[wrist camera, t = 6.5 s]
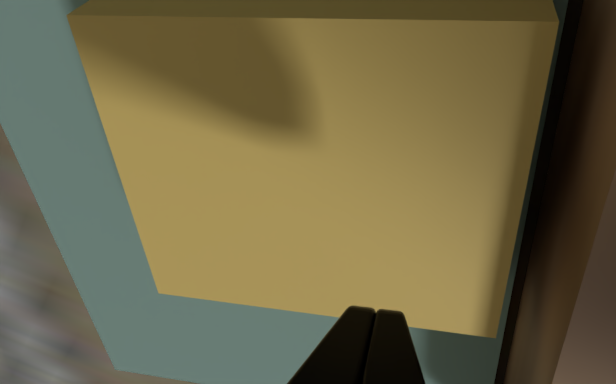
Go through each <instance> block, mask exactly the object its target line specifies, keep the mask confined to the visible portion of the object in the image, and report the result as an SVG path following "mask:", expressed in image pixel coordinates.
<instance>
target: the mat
mask: <svg viewBox="0 0 616 384" xmlns="http://www.w3.org/2000/svg"><path fill="white" fill-rule="evenodd" d="M88 1H89V0H0V123H1V125H2V128H3V130H4V132H5V134H6V136H7V138H8V140H9V143H10V145H11V147H12V149H13V151H14V153H15V155H16V158H17V160H18V162H19V164H20V166H21V168H22V170H23V173H24V175H25V177H26V179H27V181H28V183H29V186H30V188H31V190H32V192H33V194H34V196H35V198H36V201H37V203H38V205H39V207H40V209H41V211H42V213H43V216H44V218H45V220H46V222H47V224H48V226H49V228H50V231H51V233H52V235H53V237H54V239H55V241H56V243H57V246H58V248H59V250H60V252H61V254H62V256H63V259H64V261H65V263H66V265H67V267H68V269H69V271H70V274H71V276H72V278H73V280H74V282H75V284H76V286H77V289H78V291H79V293H80V295H81V297H82V299H83V301H84V304H85V306H86V308H87V310H88V312H89V314H90V316H91V319H92V321H93V323H94V325H95V327H96V329H97V332H98V334H99V336H100V338H101V340H102V342H103V344H104V347H105V349H106V351H107V353H108V355H109V357H110V359H111V362H112V364H113V366H114V368H115V370H121V371H127V372H133V373H139V374H145V375H151V376H157V377H164V378H170V379H176V380H182V381H188V382H194V383H201V384H287V383H288V382H289V380H290V379H291V378H292V377H293V375H294V374H295V373H296V372H297V370H298V369H299V368H300V367H301V365H302V364H303V363H304V361H305V360H306V359H307V358H308V356H309V355H310V354H311V353H312V351H313V350H314V349H315V348H316V346H317V345H318V344H319V343H320V341H321V340H322V339H323V338H324V336H325V335H326V334H327V333H328V331H329V330H330V329H331V328H332V326H333V325H334V324H335V323H336V321H337V320H338V319H339V317H332V316H324V315H317V314H309V313H302V312H294V311H287V310H279V309H272V308H264V307H257V306H249V305H242V304H234V303H227V302H219V301H212V300H204V299H197V298H189V297H182V296H174V295H167V294H159V293H158V290H157V287H156V284H155V281H154V278H153V275H152V272H151V269H150V266H149V263H148V260H147V257H146V254H145V251H144V248H143V245H142V242H141V239H140V236H139V233H138V230H137V227H136V224H135V221H134V218H133V215H132V212H131V209H130V206H129V203H128V200H127V197H126V194H125V191H124V188H123V185H122V182H121V179H120V176H119V173H118V170H117V167H116V164H115V161H114V158H113V155H112V152H111V149H110V146H109V143H108V140H107V137H106V134H105V131H104V128H103V125H102V122H101V119H100V116H99V113H98V110H97V107H96V103H95V100H94V97H93V94H92V91H91V88H90V85H89V82H88V79H87V76H86V73H85V70H84V67H83V64H82V61H81V58H80V55H79V52H78V49H77V46H76V43H75V40H74V37H73V34H72V31H71V28H70V25H69V22H68V19H67V16H66V15H67V14H69V13H70V12H72V11H73V10H75V9H77V8H78V7H80V6H81V5H83V4H84V3H86V2H88ZM553 3H554V7H555V10H556V13H557V16H558V19H559V26H558V31H557V36H556V41H555V46H554V51H553V56H552V61H551V66H550V71H549V76H548V81H547V86H546V91H545V96H544V101H543V106H542V111H541V116H540V121H539V126H538V131H537V136H536V141H535V146H534V151H533V156H532V161H531V166H530V171H529V176H528V181H527V186H526V191H525V196H524V201H523V206H522V211H521V216H520V221H519V226H518V231H517V236H516V241H515V246H514V250H513V255H512V260H511V265H510V270H509V275H508V280H507V285H506V290H505V295H504V300H503V305H502V310H501V315H500V320H499V325H498V330H497V335H496V338H490V337H482V336H475V335H467V334H460V333H452V332H444V331H437V330H429V329H422V328H414V327H408V328H409V331H410V334H411V337H412V341H413V344H414V347H415V351H416V354H417V357H418V360H419V364H420V367H421V370H422V373H423V377H424V380H425V383H426V384H494V381H495V376H496V371H497V366H498V361H499V356H500V350H501V345H502V340H503V335H504V330H505V325H506V319H507V314H508V309H509V304H510V299H511V294H512V288H513V283H514V278H515V273H516V268H517V263H518V257H519V252H520V247H521V242H522V237H523V232H524V226H525V221H526V216H527V211H528V206H529V201H530V195H531V190H532V185H533V180H534V175H535V170H536V164H537V159H538V154H539V149H540V144H541V139H542V134H543V128H544V123H545V118H546V113H547V108H548V103H549V97H550V92H551V87H552V82H553V77H554V72H555V66H556V61H557V56H558V51H559V46H560V41H561V35H562V30H563V25H564V20H565V15H566V10H567V4H568V0H553Z"/></svg>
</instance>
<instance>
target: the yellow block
mask: <svg viewBox="0 0 616 384" xmlns="http://www.w3.org/2000/svg"><path fill="white" fill-rule="evenodd" d="M66 16H67V19H68V22H69V25H70V28H71V31H72V34H73V37H74V40H75V43H76V46H77V49H78V52H79V55H80V58H81V61H82V64H83V67H84V70H85V73H86V76H87V79H88V82H89V85H90V88H91V91H92V94H93V97H94V100H95V103H96V107H97V110H98V113H99V116H100V119H101V122H102V125H103V128H104V131H105V134H106V137H107V140H108V143H109V146H110V149H111V152H112V155H113V158H114V161H115V164H116V167H117V170H118V173H119V176H120V179H121V182H122V185H123V188H124V191H125V194H126V197H127V200H128V203H129V206H130V209H131V212H132V215H133V218H134V221H135V224H136V227H137V230H138V233H139V236H140V239H141V242H142V245H143V248H144V251H145V254H146V257H147V260H148V263H149V266H150V269H151V272H152V275H153V278H154V281H155V284H156V287H157V290H158V293H159V294H167V295H174V296H182V297H189V298H197V299H204V300H212V301H219V302H227V303H234V304H242V305H249V306H257V307H264V308H272V309H279V310H287V311H294V312H302V313H309V314H317V315H324V316H332V317H339V318H340V316H341V315H342V314H343V312H344V311H345V310H346V309H347V308H348V307H349V306H353V305H354V306H363V307H371V308H373V309H375V311H376V312H377V310H379V309H388V310H396V311H401V312H403V314H404V315H405V318H406V321H407V324H408V327H414V328H422V329H429V330H437V331H444V332H452V333H460V334H467V335H475V336H482V337H490V338H496V335H497V330H498V325H499V320H500V315H501V310H502V305H503V300H504V295H505V290H506V285H507V280H508V275H509V270H510V265H511V260H512V255H513V250H514V246H515V241H516V236H517V231H518V226H519V221H520V216H521V211H522V206H523V201H524V196H525V191H526V186H527V181H528V176H529V171H530V166H531V161H532V156H533V151H534V146H535V141H536V136H537V131H538V126H539V121H540V116H541V111H542V106H543V101H544V96H545V91H546V86H547V81H548V76H549V71H550V66H551V61H552V56H553V51H554V46H555V41H556V36H557V31H558V26H559V19H558V16H557V13H556V10H555V7H554V3H553V0H89V1H88V2H86V3H84V4H83V5H81V6H80V7H78V8H77V9H75V10H73V11H72V12H70V13H69V14H67V15H66Z"/></svg>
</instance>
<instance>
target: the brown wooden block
mask: <svg viewBox="0 0 616 384" xmlns="http://www.w3.org/2000/svg"><path fill="white" fill-rule="evenodd" d="M503 384H616V0H583V5H582V9H581V14H580V19H579V24H578V28H577V33H576V38H575V43H574V47H573V52H572V57H571V62H570V67H569V71H568V76H567V81H566V86H565V90H564V95H563V100H562V105H561V110H560V114H559V119H558V124H557V129H556V133H555V138H554V143H553V148H552V152H551V157H550V162H549V167H548V172H547V176H546V181H545V186H544V191H543V195H542V200H541V205H540V210H539V214H538V219H537V224H536V229H535V234H534V238H533V243H532V248H531V253H530V257H529V262H528V267H527V272H526V276H525V281H524V286H523V291H522V296H521V300H520V305H519V310H518V315H517V319H516V324H515V329H514V334H513V339H512V343H511V348H510V353H509V358H508V362H507V367H506V372H505V377H504V381H503Z"/></svg>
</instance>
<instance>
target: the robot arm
mask: <svg viewBox="0 0 616 384" xmlns="http://www.w3.org/2000/svg"><path fill="white" fill-rule="evenodd" d="M287 384H426V383H425V380H424V377H423V373H422V370H421V367H420V364H419V360H418V357H417V354H416V351H415V347H414V344H413V341H412V337H411V334H410V331H409V328H408V324H407V321H406V318H405V315H404V314H403V312H401V311H396V310H388V309H379V310H377V312H376V311H375V309H373V308H371V307H363V306H354V305H353V306H349V307H348V308H347V309H346V310H345V311H344V312H343V314H342V315H341V316H340V318H339V319H338V320H337V321H336V323H335V324H334V325H333V326H332V328H331V329H330V330H329V331H328V333H327V334H326V335H325V336H324V338H323V339H322V340H321V341H320V343H319V344H318V345H317V346H316V348H315V349H314V350H313V351H312V353H311V354H310V355H309V356H308V358H307V359H306V360H305V361H304V363H303V364H302V365H301V367H300V368H299V369H298V370H297V372H296V373H295V374H294V375H293V377H292V378H291V379H290V380H289V382H288V383H287Z"/></svg>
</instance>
